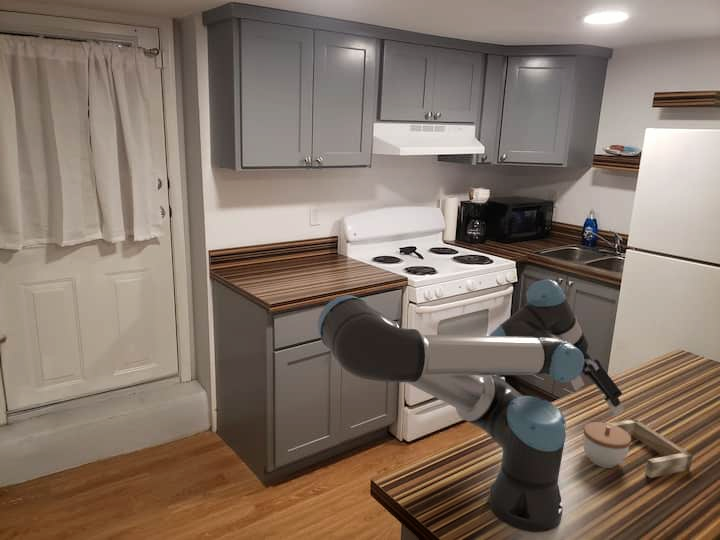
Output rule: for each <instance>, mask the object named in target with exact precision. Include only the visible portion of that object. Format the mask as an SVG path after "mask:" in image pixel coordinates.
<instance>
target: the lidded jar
mask: <svg viewBox="0 0 720 540" xmlns="http://www.w3.org/2000/svg"><path fill="white" fill-rule="evenodd" d="M582 441H583V442H582V443H583V445H582V446H583V450H584V453H585V454H586V455H587V457H588V458H589V460H590V462H592V464H594V465H596V466H598V467H602V468H605V469H611V468H613V469H614V468H615V467H616V466H618V465H619V464H621V463H622V462H623V461H625V459H626V458H627V456H628V453H629V450H630V445H631V442H632V436H630V435H629V434H628V433H627V432H626V431H625V430H623V429H621V428H619V427H617V426H615V425H612V424H608V422H601V421H599V422H598V421H595V422H594V421H593V422H589V423H587V424H586V425H584V427H583V436H582Z"/></svg>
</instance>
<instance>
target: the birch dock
mask: <svg viewBox="0 0 720 540" xmlns="http://www.w3.org/2000/svg"><path fill="white" fill-rule="evenodd" d="M607 423H608V422H607ZM608 424H612V425H615V426H617V427H619V428H621V429H623V430H625V431H626V432H627V433H628V434H629V435H630V437H634V438H636V439H637V440H638V441H640V442H641V443H643V444H644V445H646V447H647V446H648V447H649V448H650V449H652V450H653V451H655V452H656V453H657V454H660V455H661V456H660V457H654V458H649V459H647V464H646V468H645V473H644V475H646V476H647V477H648V478H650V479H651V478H655V477H661V476H667V475H671V474H676V473H681V472H684V471H690V469H691V465H692V461H693V454H692V453H690V452H688V450H685V449H684V448H682V447H681V446H679V445H677V444H675V443H674V442H673V441H671V440H669V439H668V438H666V436H665V437H664V435H661V434H660V433H658V432H657V431H655V430H653V429H652V428H651V427H649V426H647V425H645V424H644V423H642V422H641V421H639V420H638V419H636V418H634V419H627V420H622V421H615V422H609V423H608Z"/></svg>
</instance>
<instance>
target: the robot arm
mask: <svg viewBox="0 0 720 540" xmlns="http://www.w3.org/2000/svg"><path fill="white" fill-rule="evenodd" d="M525 296H526V297H525V298H526V301H527V303H526V304H524V305H523V307H521V308H520V309H519V310H517V311H516V312H515V313H514V314H512V315H511V316H510V317H509V318H507V319H506V320H504V321H503V322H502V323H499V326H498V327H496V329H494V330H493V331H492V332H491V333H490V334H489V335H459V334H458V335H456V334H454V335H453V334H451V335H450V334H446V335H445V334H423V333H421V332H420V330H419V329H416V328H402V327H399V325H398V323H397V322H396V321H395V320H394V319H392V318H390V317H389V316H387V315H385V314H383V313H381V312H379V311H378V310H376V309H374V308H373V307H371V306H370V305H368V304H367V303H366V301H365V300H364V299H362V298H360V297H357V296H354V295H350V294H349V295H347V294H346V295H340V296H338V297H335V298H333V299H332V300H330V301H329V302H328V303H327V304H325V306H324V307H323V309H322V310H321V311H320V314H319V317H318V319H317V331H318V334H319V338H320V340H321V342H322V344H323V345H324V346H325V347H326V348H328V349H329V351H330V352H331V353H332V355H333V357H335V359H336V361H337V362H338V364H339V366H341V368H342V369H343V370H344V371H346V372H347V373H348V374H351V375H352V376H354V377H357V378H360V379H363V380H368V381H374V382H375V381H376V382H383V383H384V382H386V383H406V384H409V385H411V386H412V387H414V388H416V389H418V390H420V391H423V392H424V393H426V394H428V395H430V396H432V397H434V398H435V399H437V400H440V401H441V402H443V403H446V404H448V405H449V406H451V407H454V408H455V411H456V413H457V415H458V416H459V418H461V419H462V420H463V421H466V422H468V423H469V424H472V425H474V426H475V427H478V428H479V429H481V430H482V431H483V432H485V433H486V434H488V436H489V437H490V438H491V439H493V440H494V442H496V443H497V445H499V447H500V448H501V449H502V454H501V455H502V457H501V464H500V465H501V466H500V470H499V471H498V473H497V476H496V479H495V481H494V482H493V483H492V485H491V486H490V488H489V489H490V490H489V494H488V495H489V496H488V504H489V505H488V506H489V508H490V510H491V512H492V513H493V514H494V515H495V516H496V517H497V518H498V519H500V520H501V521H502V522H504V523H506V524H507V525H510V526H511V527H514V528H516V529H519V530H523V531H528V532H546V531H550V530H552V529H554V528H557V527H558V525H560V522H561V521H562V516H563V509H564V506H563V502H562V496H561V492H560V487H559V478H560V477H559V475H560V470H561V464H562V457H563V453H564V447H565V442H566V437H567V436H566V435H567V434H566V425H567V424H566V419H565V417H564V414H563V413H562V411H561V410H560V409H559V408H558V407H557V406H556V405H554V404H553V403H552V402H550V401H548V400H546V399H543V400H542V399H540V397H537V396H532V395H523V394H521V393H520V392H518V391H517V390H516V389H515V388H514V387H512V386H511V385H510V384H509V383H508V382H507V381H505V380H504V379H503V378H501V377H499V376H521V375H522V376H524V375H525V376H526V375H529V376H532V375H534V376H535V375H538V376H543V375H544V376H550V378H551V379H552V380H557V381H558V382H561V383H571V385H572V387H573V388H574V390H575V391H579V389H581V388H582V387H583V386H585V383H584V381H583V378H582V377H581V374H582V375H584V376H585V377H588V378H589V380H591V382H592V383H593V384H594V385H595V386H596V387H597V389H599V390H600V392H601V393H602V394H603V395H604V396H603V398H604V399H603V400H605V402H606V404H607V406H608V408H609V409H610V412H611V414H612V415H613V416H614V417H615V418H616V417H617V416H619V414H621V413H622V412H624V411H625V409H624V406H623V404H622V403H621V400H620V399H619V397H621V396H622V395H623V392H622V391H621V389H619V387H618V386H617V384H616V383H615V382H614V381H613V379H612V377H610V376H609V374H608V373H607V372H606V371H605V369H604V368H603V366H602V364H601V362H600V361H599V359H594V360H592V358H591V356H590V355H589V354H588V348H589V342H588V339H587V337H586V336H585V334H584V332H583V331H582V328H581V327H580V326H581V325H580V324H579V322H578V321H577V320H578V317H577V316H575V314H574V312H573V310H572V308H571V306H570V304H569V302H568V299H567V296H566V294H565V293H564V291H563V289H562V288H561V287H560V285H559V284H558V282H556V281H555V280H552V279H542V280H539V281H536V282H534V283H533V284H532V285H530V286H529V287H528V290H527V291H526V293H525ZM586 369H587V370H586Z"/></svg>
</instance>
